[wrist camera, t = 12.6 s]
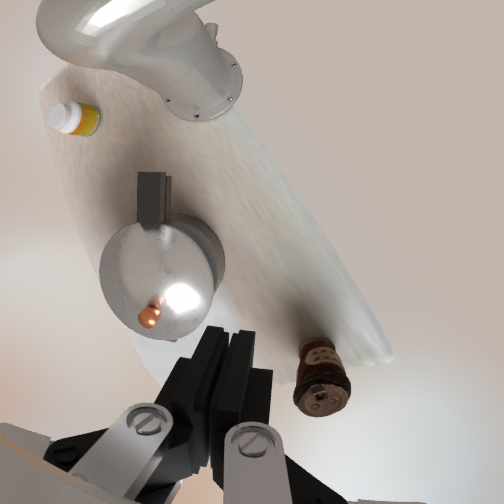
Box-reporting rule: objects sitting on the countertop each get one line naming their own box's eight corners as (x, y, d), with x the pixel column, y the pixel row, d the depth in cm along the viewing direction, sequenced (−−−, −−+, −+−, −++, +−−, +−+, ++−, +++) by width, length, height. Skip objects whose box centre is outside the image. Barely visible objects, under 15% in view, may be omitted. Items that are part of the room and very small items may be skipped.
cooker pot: (138, 174, 44) (104, 176, 35) (230, 177, 43) (214, 178, 33) (140, 304, 50) (113, 331, 40) (222, 317, 49) (209, 349, 39)
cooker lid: (212, 344, 39) (207, 357, 36) (110, 324, 40) (99, 334, 37) (219, 174, 33) (212, 174, 30) (101, 172, 34) (87, 173, 31)
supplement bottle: (107, 109, 42) (73, 99, 32) (98, 139, 43) (62, 135, 34) (85, 105, 42) (50, 96, 33) (76, 133, 43) (40, 130, 34)
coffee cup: (301, 325, 48) (305, 373, 35) (348, 335, 48) (363, 382, 35) (287, 366, 50) (286, 417, 38) (330, 374, 50) (339, 425, 37)
